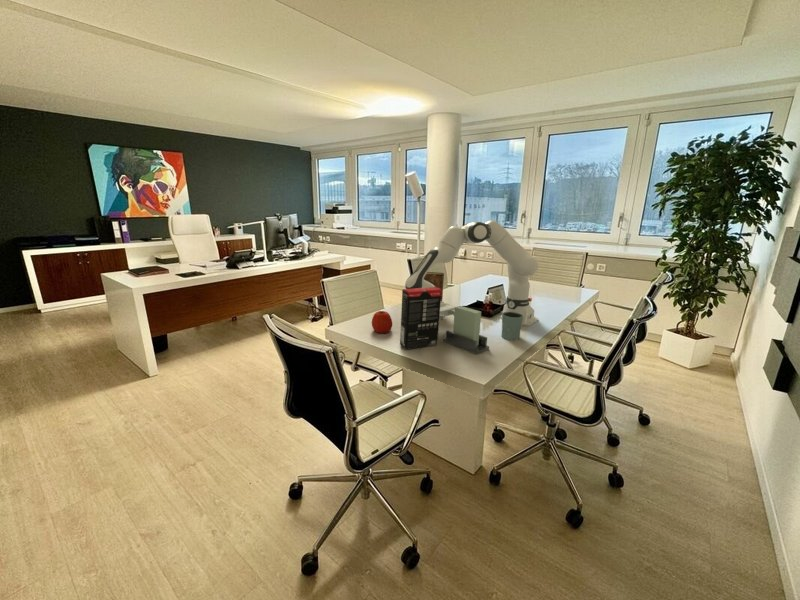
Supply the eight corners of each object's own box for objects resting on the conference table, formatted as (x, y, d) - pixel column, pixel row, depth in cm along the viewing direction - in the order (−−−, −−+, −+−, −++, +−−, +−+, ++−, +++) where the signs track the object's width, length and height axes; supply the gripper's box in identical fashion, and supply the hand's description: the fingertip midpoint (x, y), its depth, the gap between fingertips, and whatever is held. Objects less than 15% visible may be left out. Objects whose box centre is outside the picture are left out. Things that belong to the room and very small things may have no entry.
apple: (368, 328, 179) (368, 309, 176) (388, 326, 183) (388, 307, 180) (374, 335, 169) (374, 315, 167) (395, 333, 173) (395, 313, 170)
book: (441, 313, 208) (444, 272, 201) (441, 315, 203) (443, 274, 196) (415, 311, 210) (416, 271, 204) (413, 313, 205) (415, 273, 199)
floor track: (455, 336, 170) (456, 326, 169) (489, 349, 155) (490, 338, 154) (443, 341, 164) (443, 330, 163) (476, 354, 150) (477, 343, 148)
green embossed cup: (505, 341, 166) (507, 317, 163) (496, 333, 175) (498, 311, 172) (524, 340, 167) (527, 317, 164) (514, 333, 177) (517, 311, 174)
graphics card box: (431, 340, 165) (434, 285, 158) (439, 345, 159) (442, 288, 152) (399, 345, 158) (400, 288, 151) (405, 351, 152) (407, 291, 145)
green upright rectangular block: (458, 337, 165) (460, 305, 161) (478, 345, 156) (481, 311, 152) (452, 339, 163) (454, 307, 159) (472, 347, 154) (475, 313, 150)
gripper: (415, 306, 166) (436, 313, 156) (443, 300, 179) (464, 306, 169) (415, 319, 168) (435, 326, 158) (443, 311, 181) (463, 318, 171)
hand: (450, 316), depth 164 cm, fingers open, 8 cm apart
